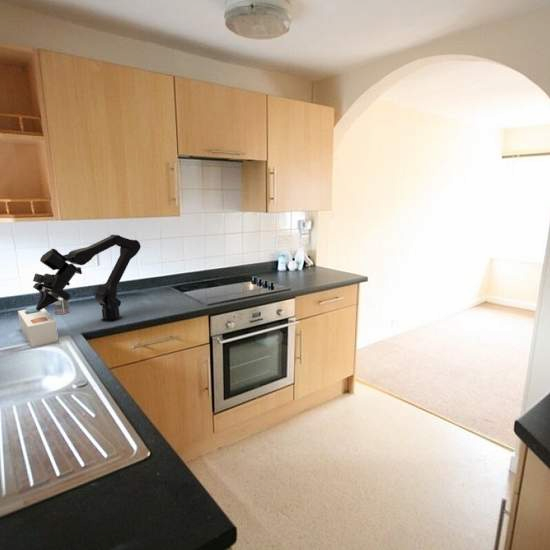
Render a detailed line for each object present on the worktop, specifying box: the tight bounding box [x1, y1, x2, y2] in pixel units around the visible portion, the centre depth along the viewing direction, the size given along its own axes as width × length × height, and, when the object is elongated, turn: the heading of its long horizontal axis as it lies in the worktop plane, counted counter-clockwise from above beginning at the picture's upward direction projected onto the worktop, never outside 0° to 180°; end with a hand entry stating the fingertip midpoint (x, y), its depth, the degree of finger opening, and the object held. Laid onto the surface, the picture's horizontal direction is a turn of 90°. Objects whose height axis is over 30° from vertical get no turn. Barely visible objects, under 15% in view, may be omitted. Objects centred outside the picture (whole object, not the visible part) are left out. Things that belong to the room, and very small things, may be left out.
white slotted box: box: [17, 308, 59, 348], centre depth 149 cm, size 26×9×8 cm, turn 41°
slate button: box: [25, 305, 39, 314], centre depth 154 cm, size 4×4×2 cm
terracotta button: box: [33, 317, 46, 323], centre depth 143 cm, size 4×4×2 cm
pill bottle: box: [53, 297, 70, 315], centre depth 178 cm, size 6×6×10 cm
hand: (37, 310), depth 142 cm, fingers closed
